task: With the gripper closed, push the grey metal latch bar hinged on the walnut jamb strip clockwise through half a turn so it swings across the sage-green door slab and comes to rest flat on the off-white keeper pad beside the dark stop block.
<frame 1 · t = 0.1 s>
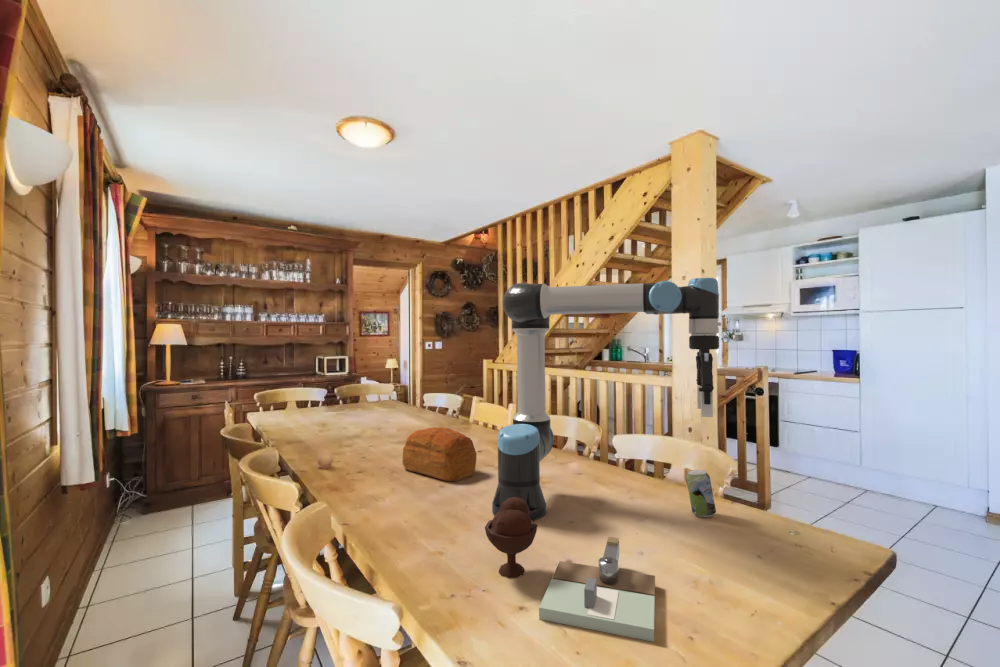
hand: (704, 412, 126), 28 cm above the table, fingers open, 13 cm apart
latch bar: (610, 558, 93), point 4 cm above the table, hinge at 0.0°
ice cream bowl: (511, 572, 97), on the table
jamb strip: (603, 586, 91), on the table
door slab: (598, 612, 82), on the table
bread: (439, 472, 169), on the table
beverage can: (701, 515, 126), on the table
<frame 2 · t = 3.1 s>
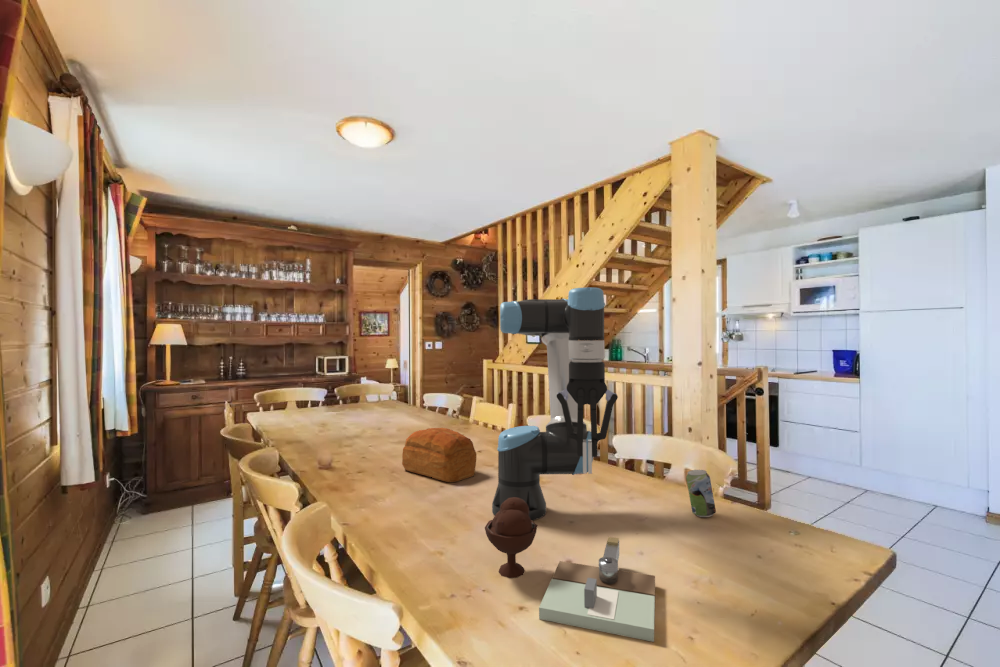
hand: (587, 471, 98), 20 cm above the table, fingers closed
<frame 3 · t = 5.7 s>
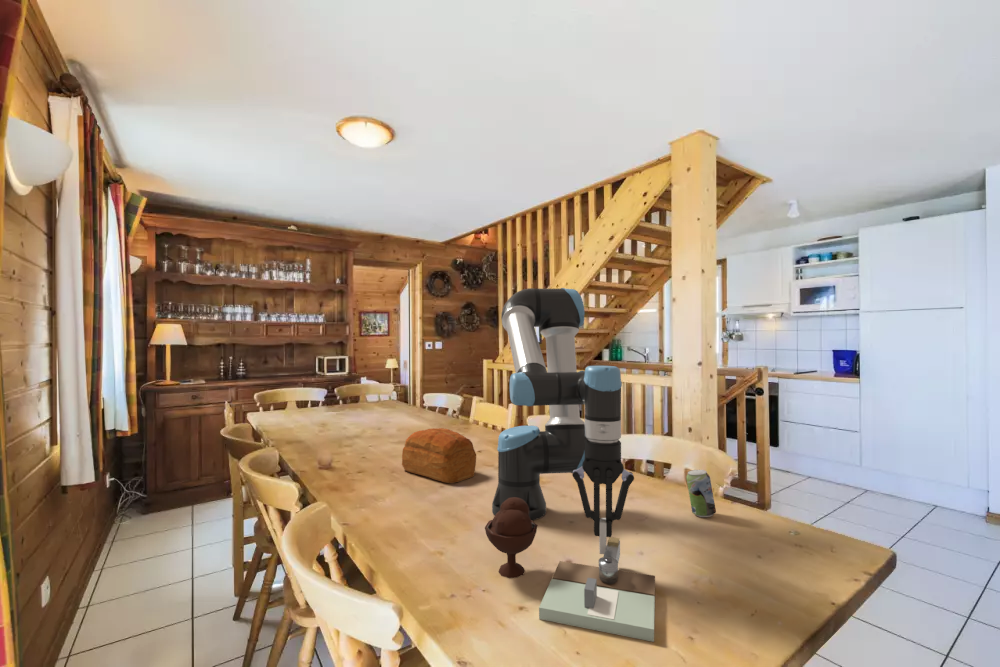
hand: (602, 551, 97), 4 cm above the table, fingers closed
latch bar: (610, 558, 93), point 4 cm above the table, hinge at 0.9°, touching gripper
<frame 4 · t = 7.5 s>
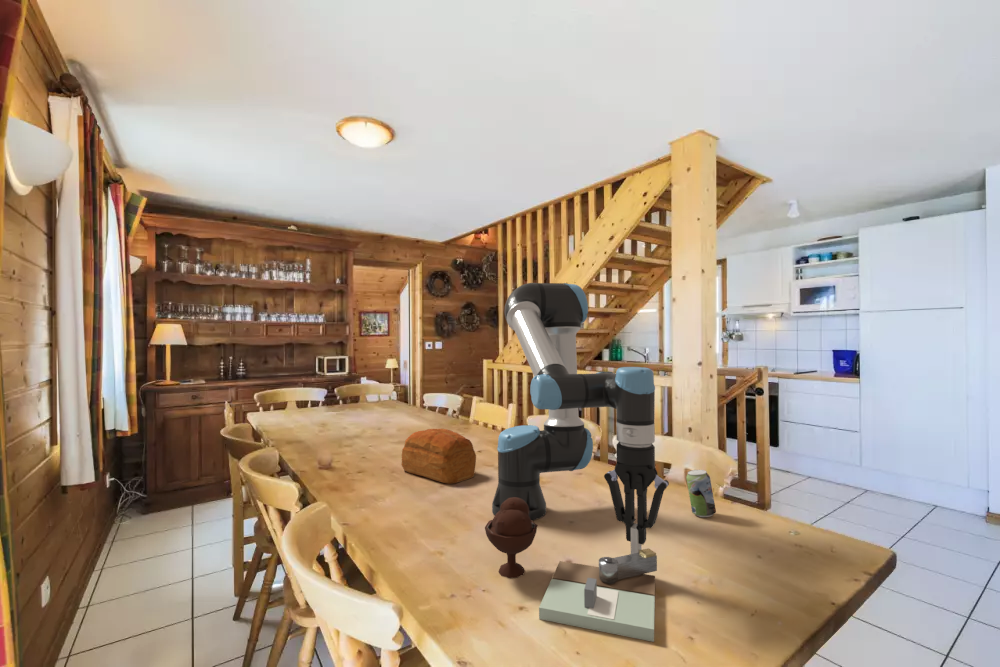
hand: (636, 557, 95), 4 cm above the table, fingers closed
latch bar: (627, 564, 91), point 4 cm above the table, hinge at 50.4°, touching gripper
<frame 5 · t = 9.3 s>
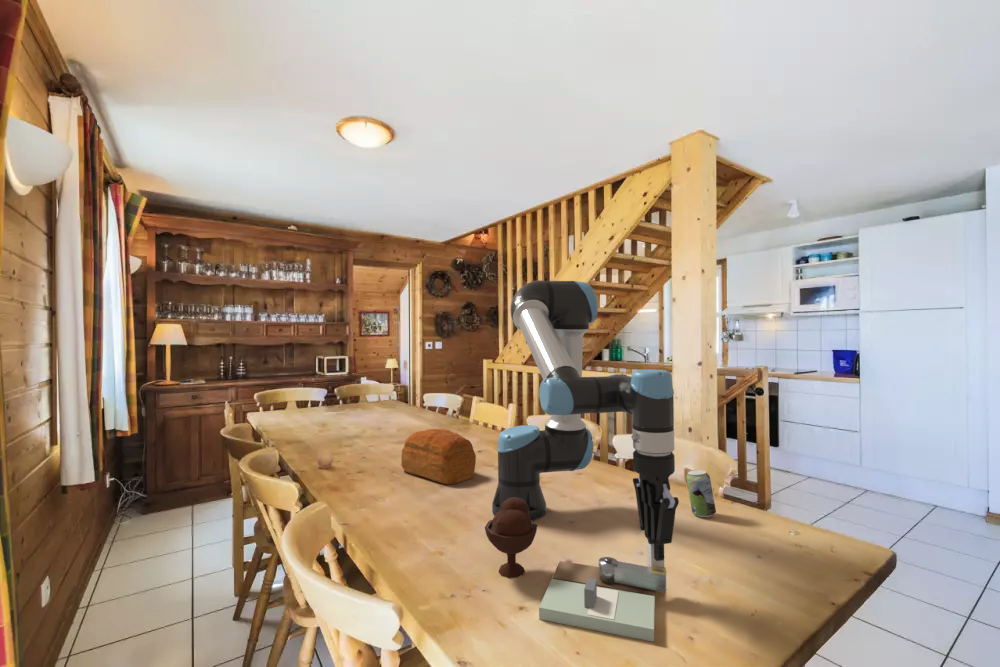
hand: (656, 573, 88), 4 cm above the table, fingers closed
latch bar: (631, 573, 88), point 4 cm above the table, hinge at 94.2°, touching gripper
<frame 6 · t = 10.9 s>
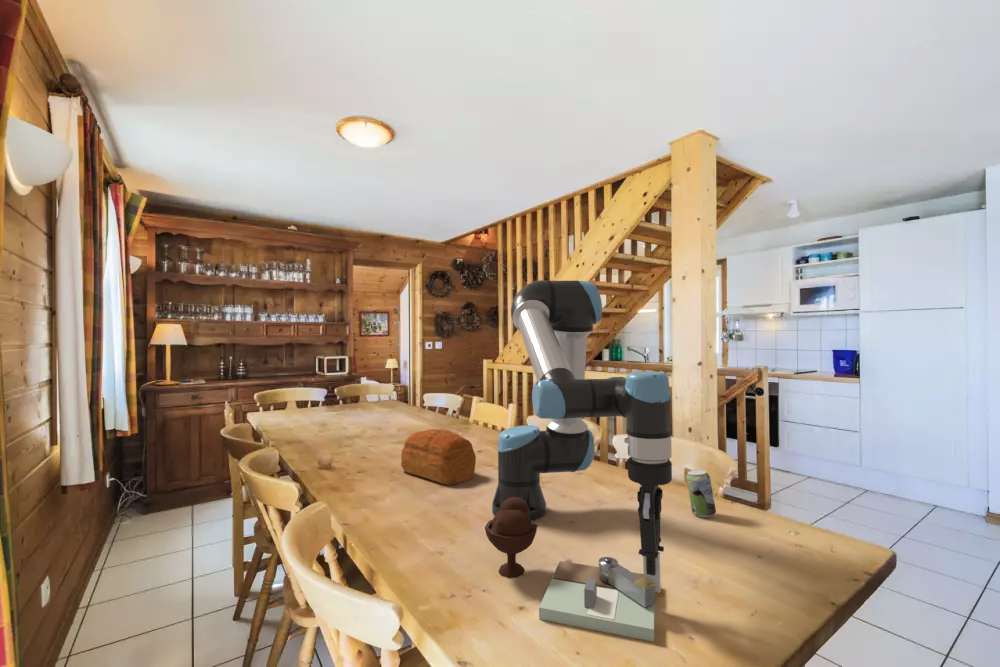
hand: (652, 589, 83), 4 cm above the table, fingers closed
latch bar: (624, 578, 86), point 4 cm above the table, hinge at 131.8°, touching gripper
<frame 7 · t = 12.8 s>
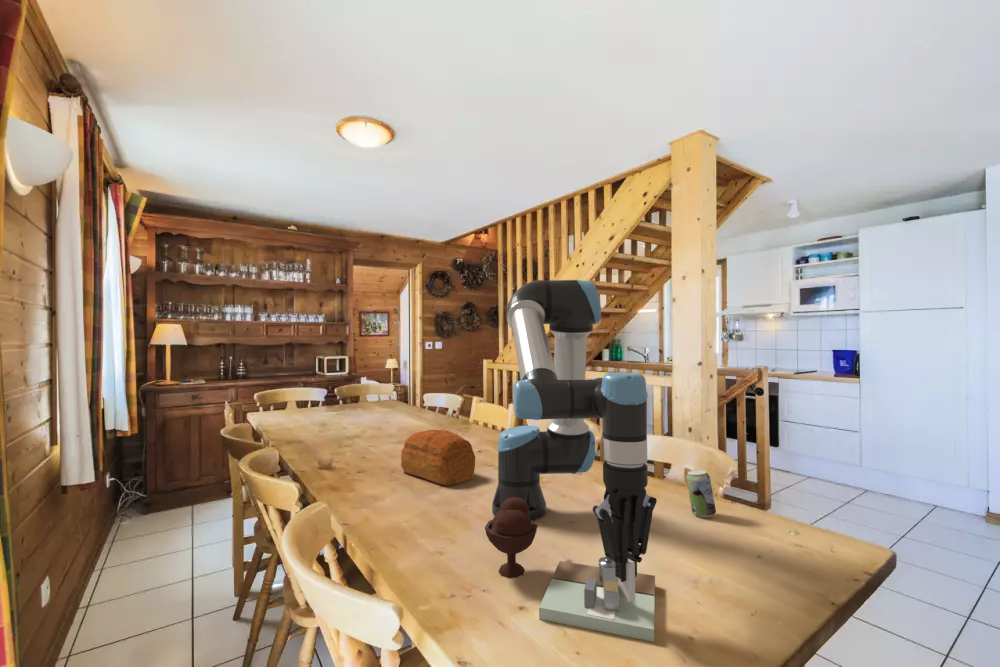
hand: (626, 597, 81), 4 cm above the table, fingers closed
latch bar: (609, 580, 85), point 4 cm above the table, hinge at 171.1°, touching gripper
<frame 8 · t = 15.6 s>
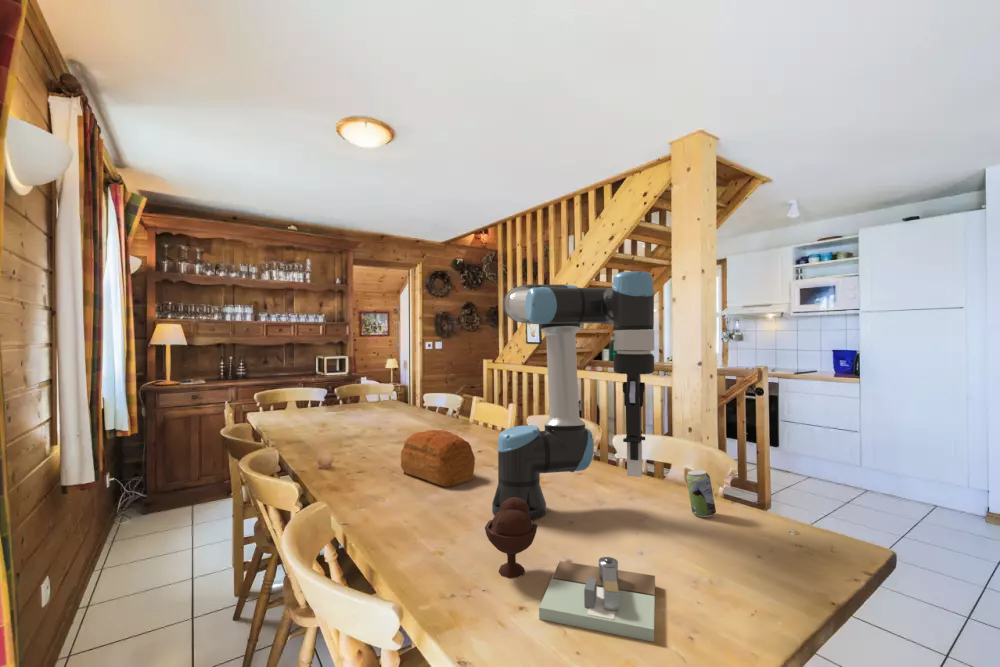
hand: (634, 475, 89), 22 cm above the table, fingers closed
latch bar: (609, 580, 85), point 4 cm above the table, hinge at 171.1°
at the end: latch bar at +171° (first picture: +0°) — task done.
